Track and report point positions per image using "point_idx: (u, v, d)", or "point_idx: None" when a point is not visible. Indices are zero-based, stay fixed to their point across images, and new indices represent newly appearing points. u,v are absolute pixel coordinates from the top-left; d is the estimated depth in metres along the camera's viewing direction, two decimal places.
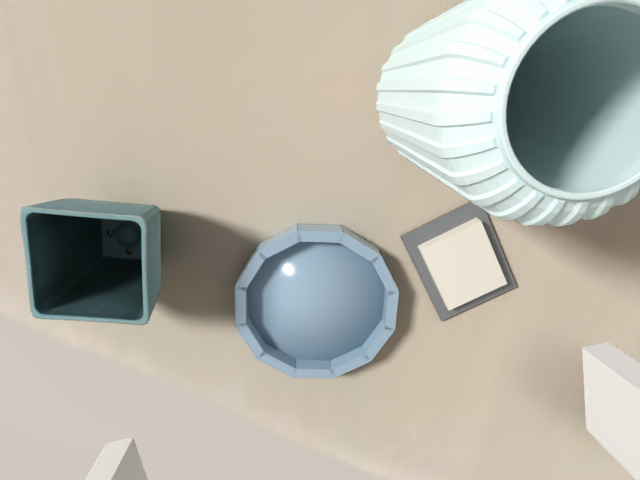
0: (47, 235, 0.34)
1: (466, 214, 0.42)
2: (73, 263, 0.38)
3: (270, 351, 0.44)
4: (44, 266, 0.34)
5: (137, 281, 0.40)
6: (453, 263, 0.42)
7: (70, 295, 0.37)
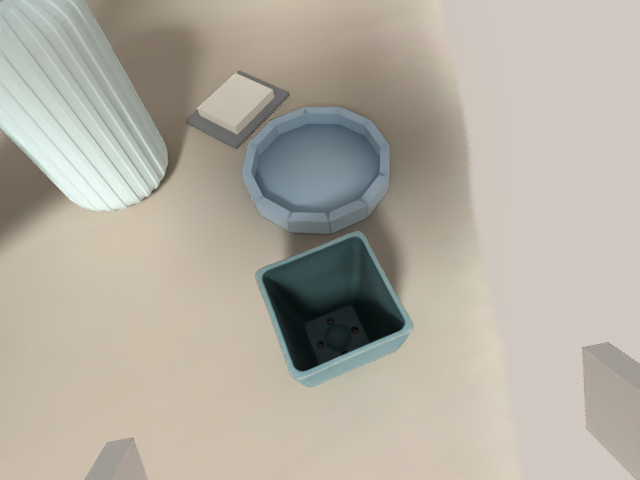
0: None
1: (200, 121, 0.53)
2: None
3: (379, 173, 0.46)
4: None
5: (365, 294, 0.38)
6: (235, 105, 0.53)
7: (395, 327, 0.33)
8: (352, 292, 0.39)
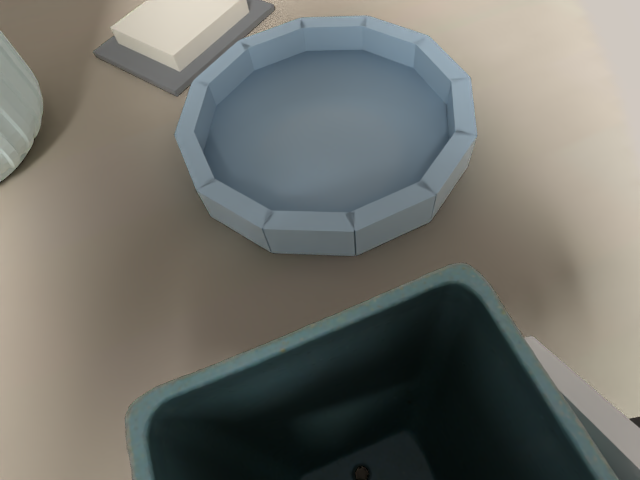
0: None
1: (118, 52, 0.30)
2: None
3: (452, 132, 0.23)
4: None
5: (456, 423, 0.14)
6: (177, 21, 0.29)
7: None
8: (414, 404, 0.16)
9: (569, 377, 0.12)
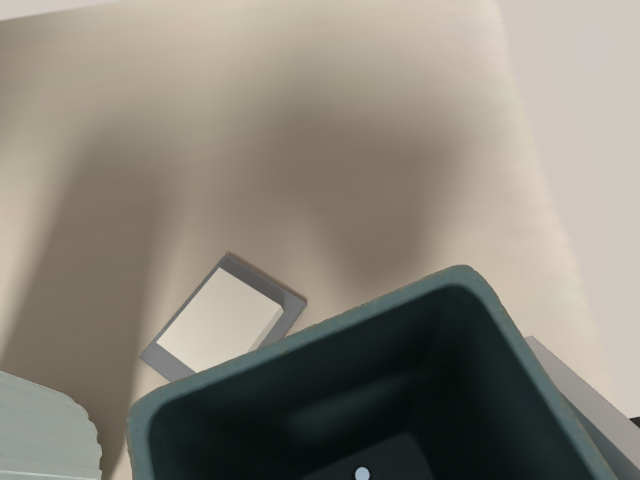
0: None
1: (163, 360, 0.32)
2: None
3: None
4: None
5: (457, 425, 0.14)
6: (219, 339, 0.32)
7: None
8: (415, 406, 0.16)
9: (569, 377, 0.12)
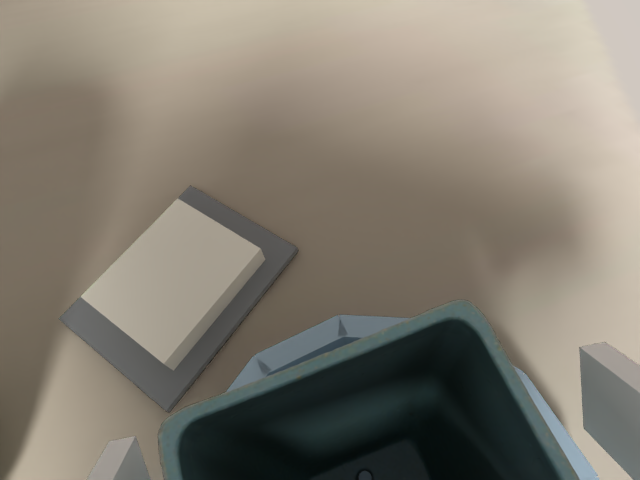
0: None
1: (92, 324, 0.23)
2: None
3: None
4: None
5: (454, 437, 0.16)
6: (170, 293, 0.22)
7: None
8: (415, 416, 0.17)
9: None
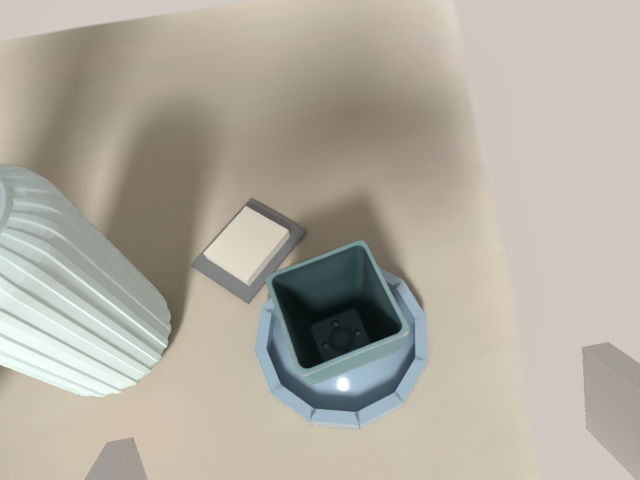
0: None
1: (207, 266, 0.47)
2: None
3: (414, 352, 0.40)
4: None
5: (368, 299, 0.40)
6: (246, 250, 0.47)
7: (394, 330, 0.36)
8: (356, 297, 0.42)
9: None
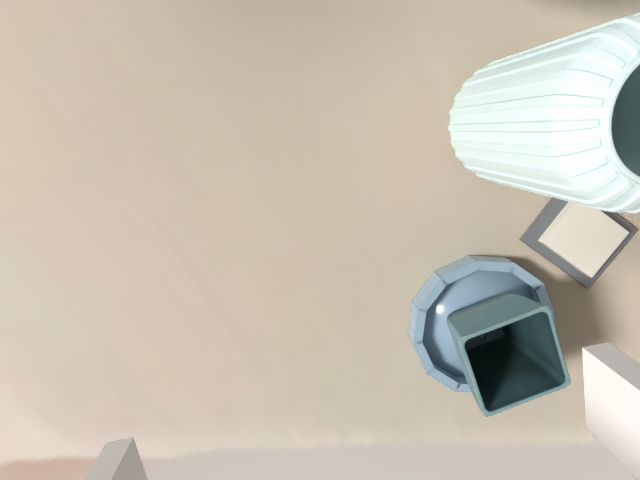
0: None
1: None
2: None
3: (462, 380, 0.51)
4: None
5: (511, 357, 0.48)
6: (576, 239, 0.47)
7: (484, 389, 0.45)
8: (514, 341, 0.49)
9: None
